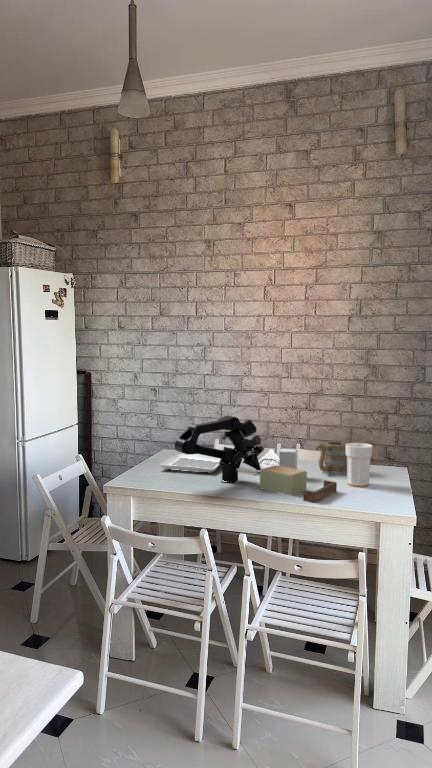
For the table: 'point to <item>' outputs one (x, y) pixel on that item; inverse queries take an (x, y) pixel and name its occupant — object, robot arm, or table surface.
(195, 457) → the square plate
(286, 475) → the tea box
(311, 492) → the bracket
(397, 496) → the table surface
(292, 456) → the supplement box
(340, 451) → the tankard
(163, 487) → the table surface
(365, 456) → the cup
